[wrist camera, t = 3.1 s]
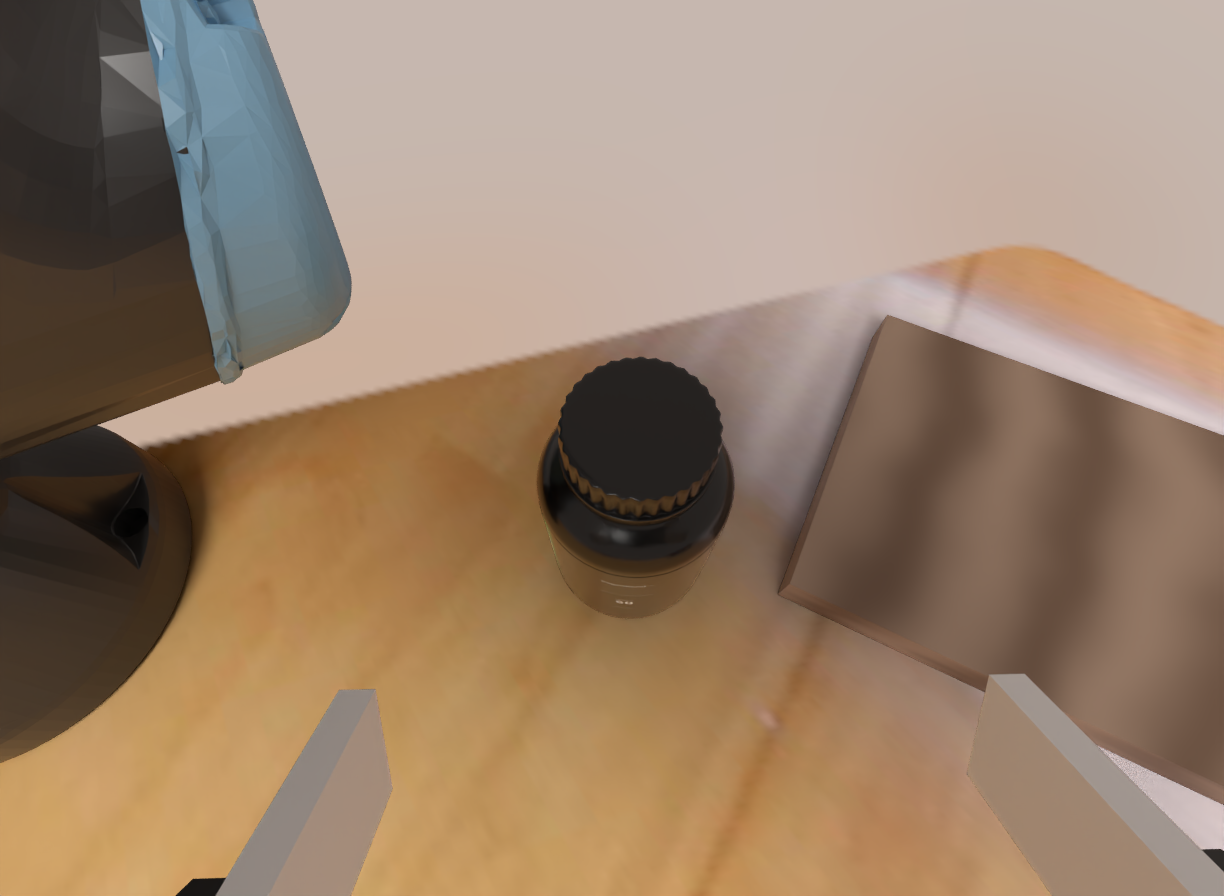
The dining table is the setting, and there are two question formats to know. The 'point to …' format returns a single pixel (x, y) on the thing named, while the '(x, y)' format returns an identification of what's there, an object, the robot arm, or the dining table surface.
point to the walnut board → (1029, 543)
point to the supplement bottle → (635, 486)
